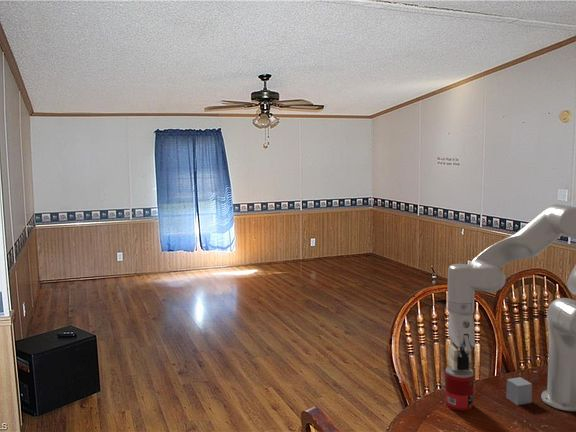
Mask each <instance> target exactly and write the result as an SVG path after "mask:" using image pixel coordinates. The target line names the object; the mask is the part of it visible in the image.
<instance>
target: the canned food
mask: <svg viewBox="0 0 576 432" xmlns="http://www.w3.org/2000/svg"><path fill="white" fill-rule="evenodd" d="M444 374H445V381H444V382H445V384H444V385H445V388H444V389H445V391H444V392H445V395H444V397H445V405H446V406H447V407H448V408H449V409H452V410H455V411H462V412H463V411H464V412H466V411H469V410H471V409H472V408H473V406H474V381H475V380H474V377H475V376H474V375H475V374H474V370H473V369H472V368H471V370H453V369H452V367H451V366H450V365H449V366H446V367H445V373H444Z"/></svg>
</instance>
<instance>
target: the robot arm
mask: <svg viewBox="0 0 576 432" xmlns="http://www.w3.org/2000/svg"><path fill="white" fill-rule="evenodd" d="M562 236H563V237H566V238H569V239H571V238H572V239H576V207H575V206H571V205H565V204H552V205H550V206H548V207H547V208H544V210H543V211H541V212H540V213H539V214H538V215H536V216H535V217H534V218H532V220H530V221H529V222H528V223H527V224H526V225H524V226H523V227H521V228H520V229H518V231H517V232H515V233H514V234H513V235H510V236H507V237H506V238H504V239H502V240H500V241H498V242H496V243H493V244H491V245H490V246H488V247H487V248H486V249H484V250H483V251H481V252H480V253H479V254H478V255H477V256H476V257H474V258H473V259H472V261H470V262H469V264H466V263H453V264H450V266H448V268H447V298H446V299H447V300H446V301H447V303H446V304H447V305H446V307H447V309H446V311H447V312H448V325H447V327H448V328H447V329H448V332H447V333H448V334H447V335H448V338H449V339H450V342H451V343H450V344H455V345H456V346H458V353H459V356H457V369H458V370H468V369H469V353H470V352H471V353H472V349H471V348H474V347H475V342H476V341H475V340H476V339H475V338H476V337H475V323H474V322H475V321H474V313H475V291H481V292H488V293H489V292H492V293H493V292H497V291H499V290H501V289H502V288H503V287H505V284H506V282H507V281H506V279H507V278H506V275H505V273H504V272H503V270H502V267H504V266H506V265H508V264H509V263H512V262H515V261H519V260H521V261H522V260H526V259H527V260H528V259H531V258H535V257H537V256H539V255H540V254H541V253H542V252H543V251H545V250H546V249H547V248H548V247H549V246H550V245H552V244H553V243H554V242H555V241H557V240H558V239H559V238H561V237H562ZM566 286H567V289H568V291H569V292H570V293H571V294H572V295H574V296H576V263H575V265H574V267H573V268H572V270H571V272H570V274H569V277H568V279H567V283H566ZM546 311H547V312H546V321H547V327H548V362H547V363H548V365H547V387H546V388H547V389H546V390H543V391H542V393H541V396H540V397H541V400H542V402H544V403H545V404H546V405H548V406H550V407H552V408H555V409H557V410H562V411H567V412H576V300H574V299H572V298H567V297H560V298H557V299H554V300H553V301H551V303H550V304H549V306H548V308H547V310H546ZM461 344H464V346H461ZM462 348H465V349H464V350H463V351H462V352H461V349H462Z"/></svg>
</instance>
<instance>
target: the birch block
mask: <svg viewBox="0 0 576 432" xmlns="http://www.w3.org/2000/svg"><path fill="white" fill-rule="evenodd" d="M461 346H464V344H461ZM447 349H448V351H447V352H448V354H447V355H448V357H447V358H448V360H447V361H448V363H447V364H448V365H449V366H451V367H452V369H453V370H458V369H457V356H459V353H458V346H456V345H455V344H451V343H450V344H448V348H447ZM464 349H465V348H462V349H461V352H462V351H463V350H464ZM471 369H472V351H471V352H470V353H469V369H468V370H471Z"/></svg>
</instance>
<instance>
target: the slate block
mask: <svg viewBox="0 0 576 432" xmlns="http://www.w3.org/2000/svg"><path fill="white" fill-rule="evenodd" d="M532 390H533V383H532V382H529V380H526V379H525V378H523V377H520V376H519V377H513V378H507V379H506V395H505V397H506V399H508V400H509V401H511V403H513V404H515V405H517V406H521V405H526V404H532V396H533V391H532Z"/></svg>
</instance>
